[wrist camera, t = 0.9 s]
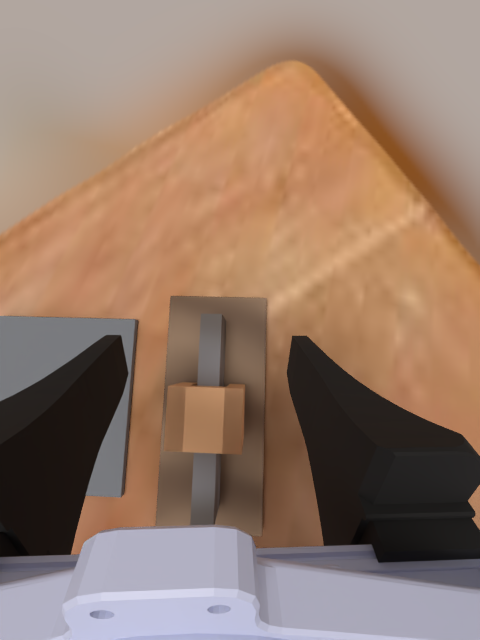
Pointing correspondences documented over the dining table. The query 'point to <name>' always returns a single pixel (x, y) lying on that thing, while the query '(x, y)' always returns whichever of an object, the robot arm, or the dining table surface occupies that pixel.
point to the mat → (53, 352)
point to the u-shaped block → (205, 418)
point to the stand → (221, 370)
